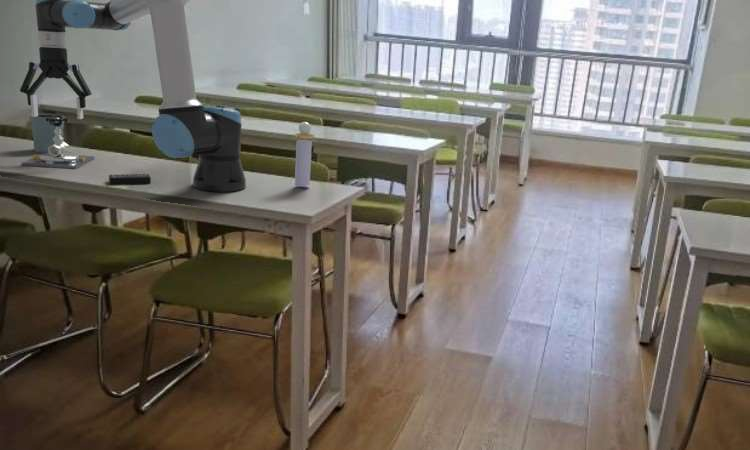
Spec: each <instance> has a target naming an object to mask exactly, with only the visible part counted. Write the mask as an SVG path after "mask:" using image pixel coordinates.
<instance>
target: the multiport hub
mask: <svg viewBox="0 0 750 450" xmlns="http://www.w3.org/2000/svg"><path fill="white" fill-rule="evenodd" d="M151 180H152V179H151V175H150V174H149V173H138V174H137V173H135V174H133V173H132V174H131V173H130V174H108V183H109V185H111V186H114V185H119V186H120V185H150V184H151Z"/></svg>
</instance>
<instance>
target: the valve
mask: <svg viewBox="0 0 750 450" xmlns="http://www.w3.org/2000/svg"><path fill="white" fill-rule="evenodd" d="M46 121H49V122H50V124H52V125H54V126H56V129H55V130H54V132H55V134H56V136H55V137H54V138H53V141H54V144H53V145H52V146H50V147H48V153H49V154H50V155H51V156H53V157H56V156H62V155H64V154H65V153H66V152H70V145H69V144H68V143H67V142H65V140H64V136H63V137H62V136H60V134H61V129H59V126H61V125H62V121H64V123H68V122H69V117H65V116H64V118H63V117H56V116H52V117H46ZM52 122H54V123H52Z"/></svg>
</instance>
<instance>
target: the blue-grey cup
mask: <svg viewBox="0 0 750 450" xmlns="http://www.w3.org/2000/svg"><path fill="white" fill-rule="evenodd" d="M52 116H56V117H63V118H65V115H62V114H58V113H46V112H44V113H43V112H42V113H39V112H38V116H36V117H32V113H31V114H30V115H29V118H30V124H31V125H30V126H31V127H30V128H31V129H32V131H31V133H32V139H33V149H34V152H36V153H41V154H43V153H48V147H50V146H52V145H53V144H54V141H53V138H54V137H55V136H56V134H55V132H54V130H55V129H56V126H54V125H52V124H50V122H49V121H46V117H52ZM52 123H54V122H52ZM64 124H65V121H62V125H61V126H59V129H61V134H60V136H62V137H63V138H64V132H63V130H64Z"/></svg>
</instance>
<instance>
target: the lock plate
mask: <svg viewBox="0 0 750 450" xmlns="http://www.w3.org/2000/svg"><path fill="white" fill-rule="evenodd" d="M93 160H95V156H91V155H78V154H76V153H72V152H71V151H68V152H66V153H65V154H64V155H62V156H56V157H53V156H51V155H50V154H49V153H41V154H37V153H35V154H33V155H32V158H29V159H28V160H25V161H22V162H21V166H23V167H24V166H27V167H40V168H41V167H43V168H56V169H57V168H58V169H59V168H60V169H71V170H73V169H75V170H77V169H78V168H80V167H82V166H85V165H86V164H88V163H90V162H92V161H93Z"/></svg>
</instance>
